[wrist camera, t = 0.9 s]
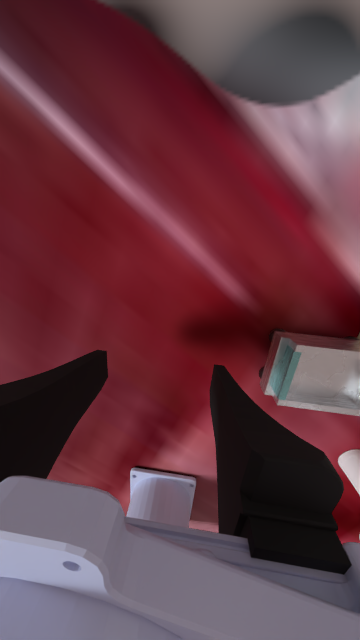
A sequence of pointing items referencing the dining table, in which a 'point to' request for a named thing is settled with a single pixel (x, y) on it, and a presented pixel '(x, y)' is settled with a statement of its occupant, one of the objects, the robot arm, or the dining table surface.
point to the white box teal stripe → (313, 372)
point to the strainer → (351, 467)
